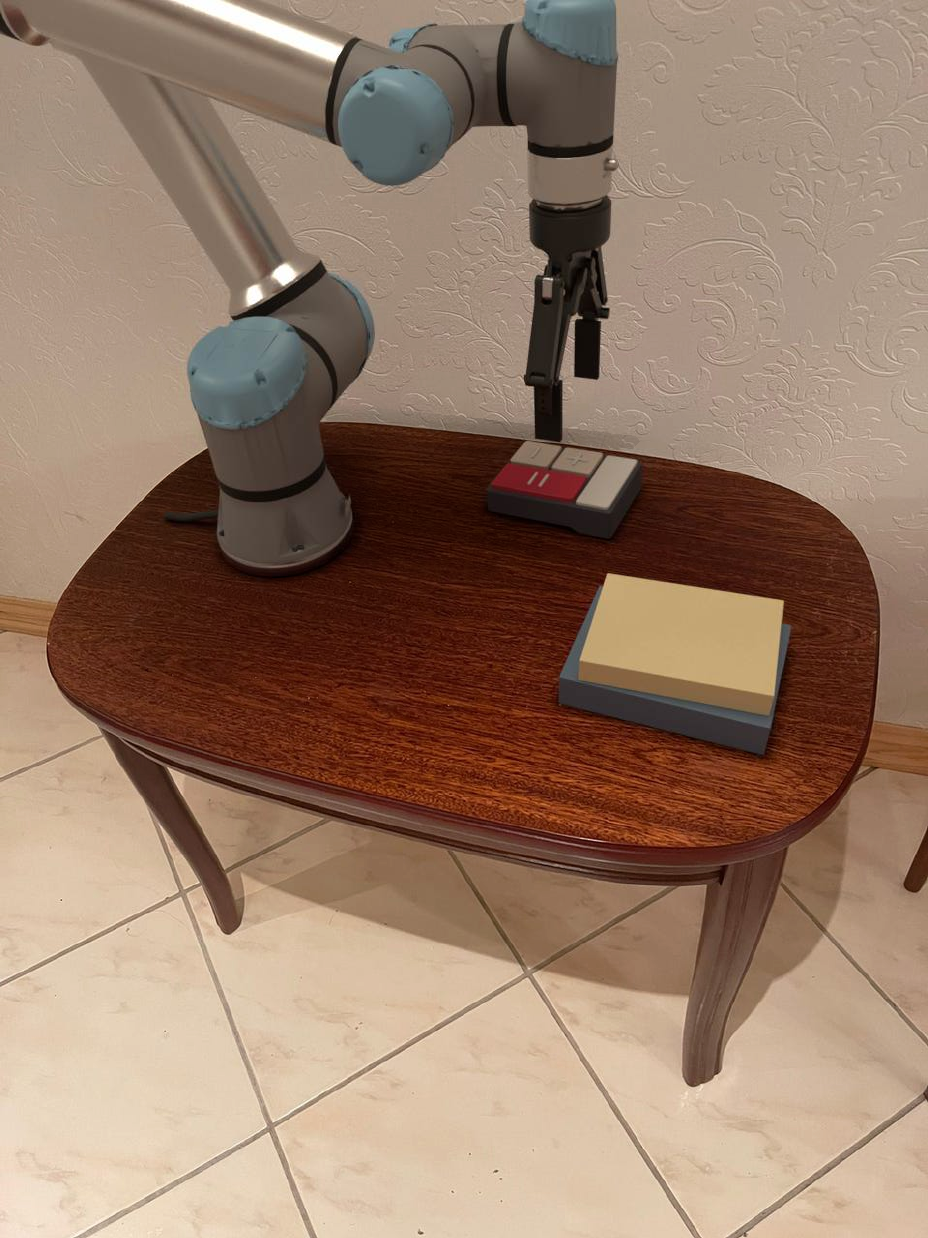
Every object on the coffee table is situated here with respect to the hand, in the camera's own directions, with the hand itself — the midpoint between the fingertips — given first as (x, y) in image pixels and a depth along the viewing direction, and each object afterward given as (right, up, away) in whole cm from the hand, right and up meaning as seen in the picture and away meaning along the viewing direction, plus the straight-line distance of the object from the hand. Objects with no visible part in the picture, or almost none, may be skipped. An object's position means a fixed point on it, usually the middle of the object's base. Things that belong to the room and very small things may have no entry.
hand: (568, 406), depth 95 cm
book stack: (+8, -28, -13) cm, 32 cm away
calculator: (+1, -9, +8) cm, 12 cm away
